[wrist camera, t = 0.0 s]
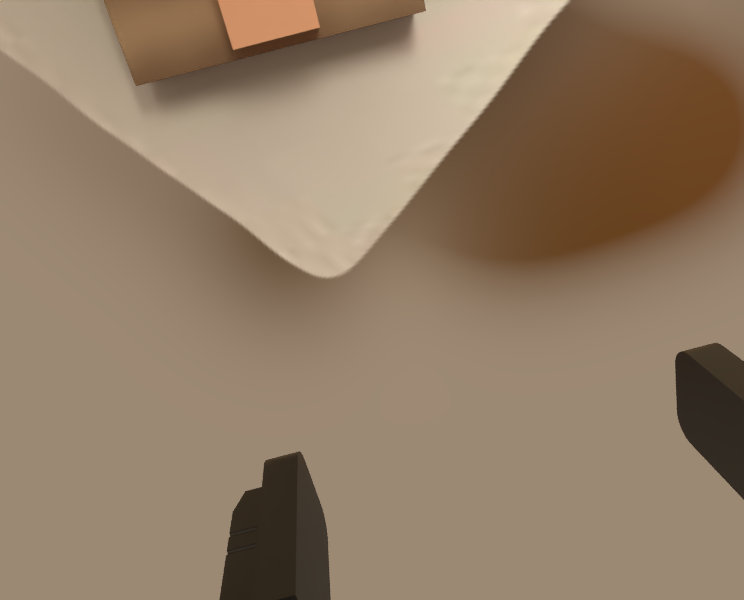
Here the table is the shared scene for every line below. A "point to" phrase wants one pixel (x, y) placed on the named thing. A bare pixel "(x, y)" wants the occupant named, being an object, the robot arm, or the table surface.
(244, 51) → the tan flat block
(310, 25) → the tile
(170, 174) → the table surface
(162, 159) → the table surface
